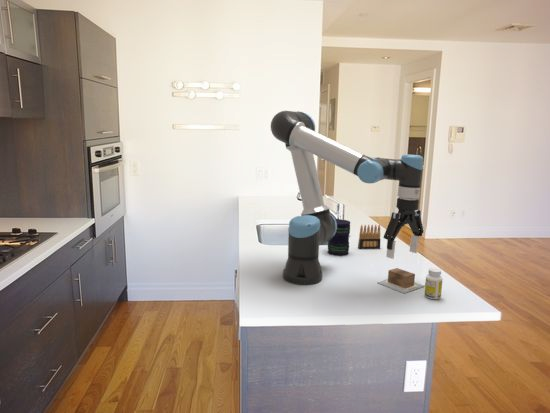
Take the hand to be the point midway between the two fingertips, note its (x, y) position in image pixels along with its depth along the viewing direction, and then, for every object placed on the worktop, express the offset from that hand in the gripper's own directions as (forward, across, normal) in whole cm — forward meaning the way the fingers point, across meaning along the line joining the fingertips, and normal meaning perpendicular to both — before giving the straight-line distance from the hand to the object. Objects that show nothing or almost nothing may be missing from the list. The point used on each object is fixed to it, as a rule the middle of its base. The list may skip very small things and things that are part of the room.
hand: (401, 254), depth 152 cm
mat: (+12, 0, -1) cm, 12 cm away
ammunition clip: (+12, +27, +38) cm, 49 cm away
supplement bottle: (+12, +1, -14) cm, 18 cm away
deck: (+11, 0, -1) cm, 11 cm away
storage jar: (+13, +9, +41) cm, 44 cm away
